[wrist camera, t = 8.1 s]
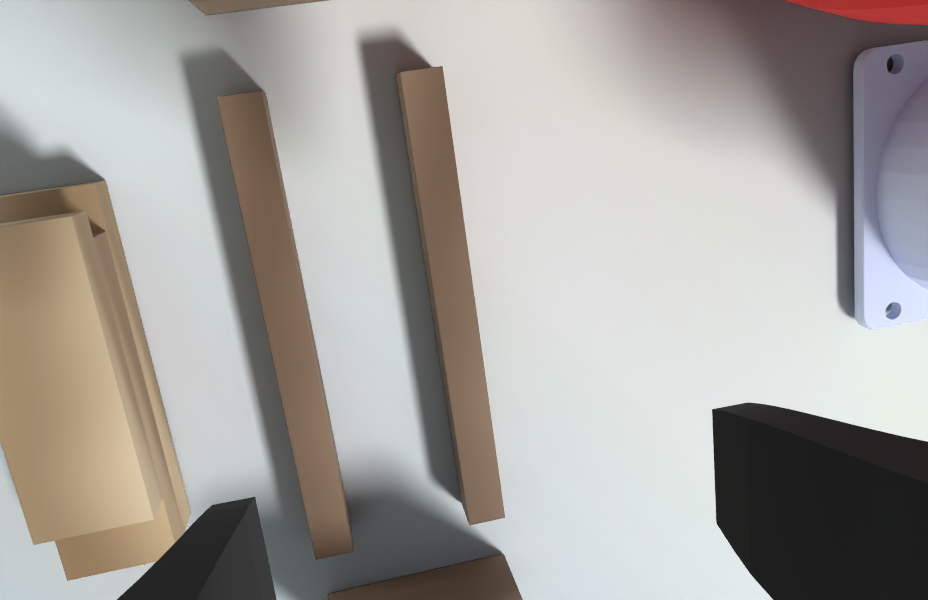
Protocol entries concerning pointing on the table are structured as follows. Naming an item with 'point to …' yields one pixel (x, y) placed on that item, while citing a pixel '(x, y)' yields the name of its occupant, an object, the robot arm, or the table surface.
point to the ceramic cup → (874, 10)
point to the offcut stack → (82, 387)
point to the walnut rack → (292, 342)
